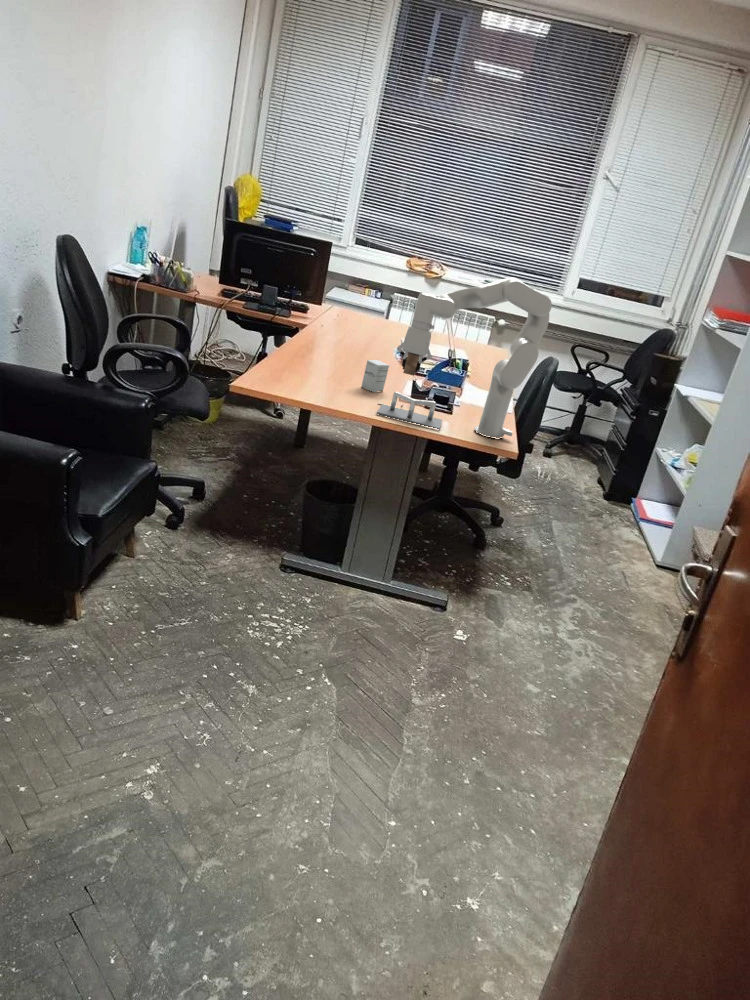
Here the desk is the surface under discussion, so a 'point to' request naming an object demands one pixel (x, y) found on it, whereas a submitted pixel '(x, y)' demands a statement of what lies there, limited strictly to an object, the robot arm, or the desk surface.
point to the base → (415, 418)
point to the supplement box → (375, 375)
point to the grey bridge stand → (413, 404)
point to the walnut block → (411, 364)
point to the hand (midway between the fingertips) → (410, 369)
